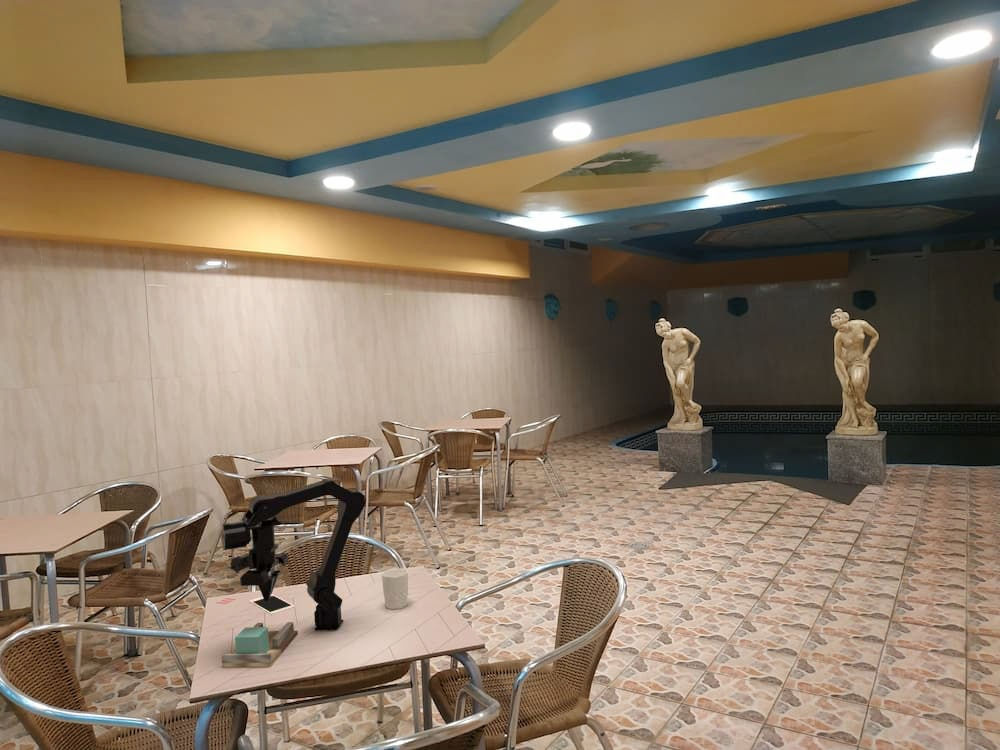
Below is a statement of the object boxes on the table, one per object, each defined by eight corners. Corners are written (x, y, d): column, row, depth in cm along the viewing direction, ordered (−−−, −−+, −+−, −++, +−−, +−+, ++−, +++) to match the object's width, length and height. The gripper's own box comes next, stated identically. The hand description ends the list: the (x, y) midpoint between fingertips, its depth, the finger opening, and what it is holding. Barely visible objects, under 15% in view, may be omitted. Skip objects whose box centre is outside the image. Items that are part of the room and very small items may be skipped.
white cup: (415, 602, 212) (413, 570, 212) (397, 611, 205) (396, 578, 205) (395, 598, 216) (393, 567, 216) (377, 607, 210) (376, 574, 209)
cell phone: (272, 595, 225) (271, 593, 225) (295, 608, 213) (295, 606, 213) (248, 602, 220) (248, 600, 220) (271, 615, 208) (271, 613, 208)
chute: (297, 634, 192) (297, 622, 192) (270, 666, 173) (269, 653, 173) (254, 634, 193) (253, 622, 193) (222, 667, 174) (221, 653, 174)
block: (269, 649, 181) (267, 627, 180) (259, 660, 175) (258, 636, 174) (246, 650, 181) (245, 627, 181) (236, 660, 175) (235, 637, 175)
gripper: (248, 534, 197) (252, 588, 198) (218, 554, 179) (222, 614, 179) (287, 533, 196) (290, 587, 197) (261, 553, 178) (264, 613, 179)
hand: (267, 600), depth 188 cm, fingers closed
